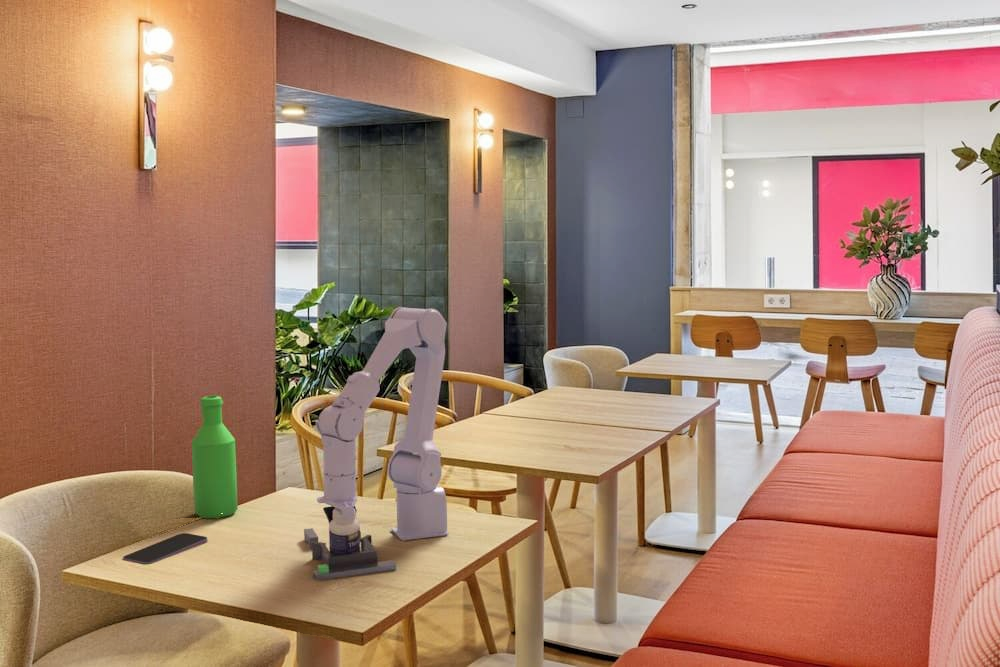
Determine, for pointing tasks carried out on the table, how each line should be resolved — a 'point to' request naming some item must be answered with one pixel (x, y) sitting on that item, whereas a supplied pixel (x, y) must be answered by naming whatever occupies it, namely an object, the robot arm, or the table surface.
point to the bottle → (214, 464)
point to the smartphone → (166, 548)
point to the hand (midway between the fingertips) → (340, 546)
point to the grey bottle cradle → (348, 561)
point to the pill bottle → (344, 534)
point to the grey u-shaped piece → (312, 537)
